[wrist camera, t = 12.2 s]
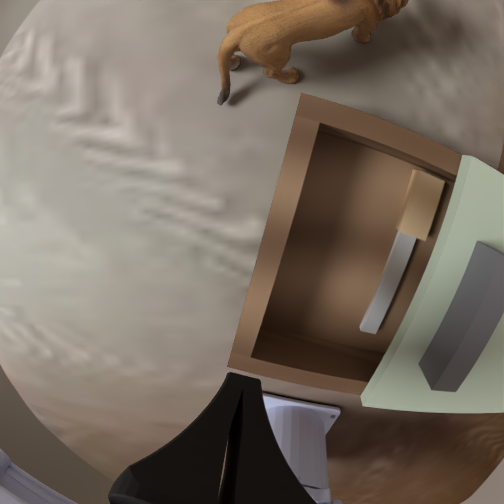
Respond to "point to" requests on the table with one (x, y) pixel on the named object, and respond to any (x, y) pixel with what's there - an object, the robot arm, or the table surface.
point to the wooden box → (342, 247)
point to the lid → (454, 311)
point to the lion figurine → (294, 31)
